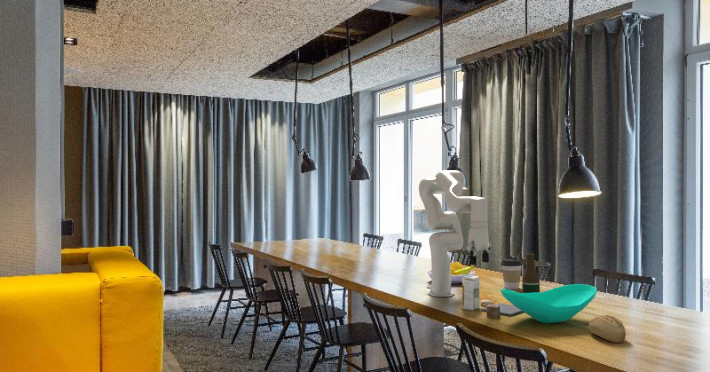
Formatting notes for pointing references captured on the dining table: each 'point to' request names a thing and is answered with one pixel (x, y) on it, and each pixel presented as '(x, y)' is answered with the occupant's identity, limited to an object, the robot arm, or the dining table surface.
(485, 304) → the cork disc
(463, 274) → the fruit bowl
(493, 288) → the dining table surface
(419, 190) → the robot arm
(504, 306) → the felt pad
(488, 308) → the walnut cube
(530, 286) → the beer bottle
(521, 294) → the table top decor
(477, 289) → the syrup box
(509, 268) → the coffee cup
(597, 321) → the bread roll
